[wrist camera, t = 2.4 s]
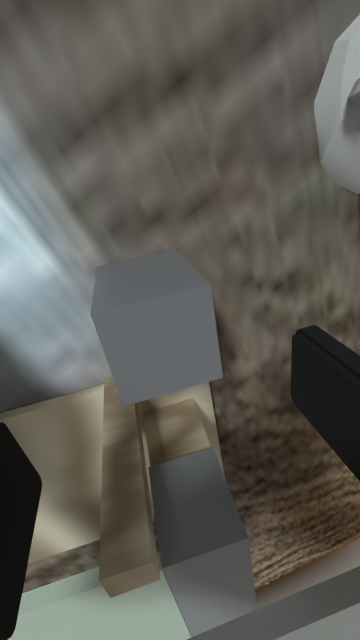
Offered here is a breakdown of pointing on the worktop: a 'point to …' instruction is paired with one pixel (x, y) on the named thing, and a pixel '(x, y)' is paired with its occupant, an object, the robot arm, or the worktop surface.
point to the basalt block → (156, 325)
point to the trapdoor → (161, 569)
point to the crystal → (341, 111)
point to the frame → (108, 471)
